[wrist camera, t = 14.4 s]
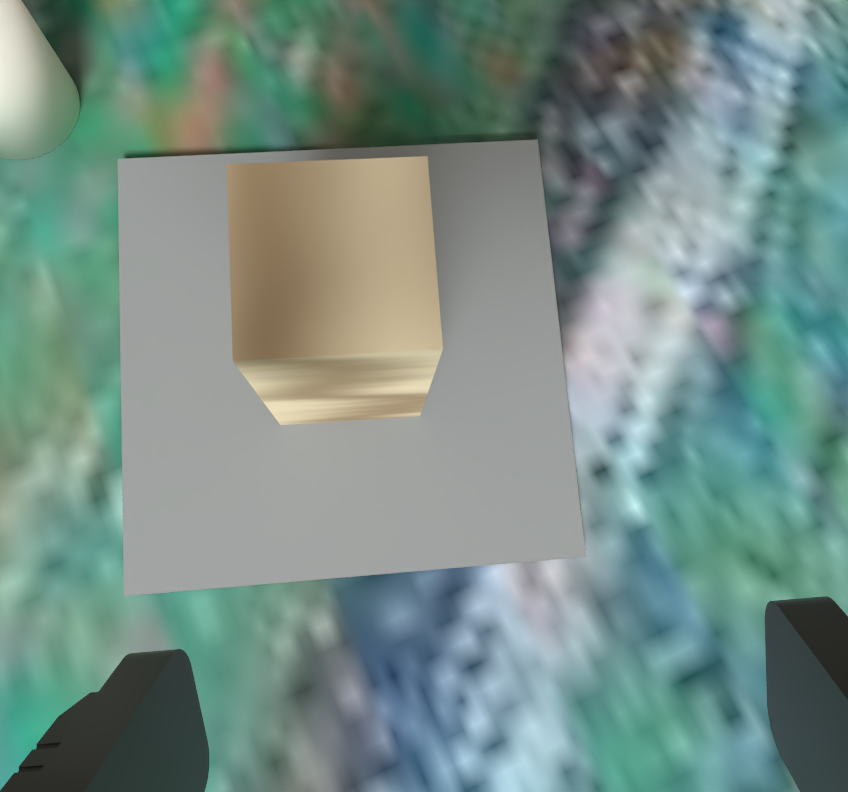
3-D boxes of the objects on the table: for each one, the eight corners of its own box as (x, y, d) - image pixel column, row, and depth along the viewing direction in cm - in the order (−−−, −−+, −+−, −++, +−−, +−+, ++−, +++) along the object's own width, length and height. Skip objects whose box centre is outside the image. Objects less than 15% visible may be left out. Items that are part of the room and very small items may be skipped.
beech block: (410, 283, 30) (427, 156, 21) (420, 416, 29) (443, 348, 20) (274, 290, 30) (226, 164, 20) (280, 424, 29) (232, 360, 19)
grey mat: (534, 146, 32) (537, 139, 32) (581, 556, 29) (586, 556, 29) (122, 166, 31) (117, 158, 31) (129, 595, 28) (124, 596, 28)
